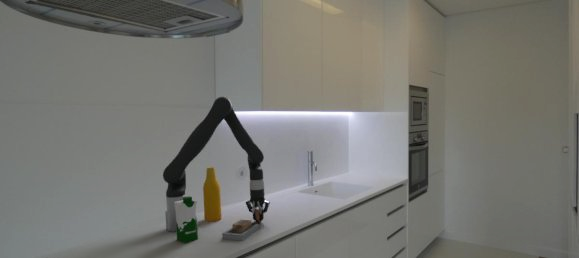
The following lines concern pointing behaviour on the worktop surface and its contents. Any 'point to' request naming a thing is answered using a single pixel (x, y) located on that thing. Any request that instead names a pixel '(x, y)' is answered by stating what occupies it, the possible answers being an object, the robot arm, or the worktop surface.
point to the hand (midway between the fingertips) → (258, 220)
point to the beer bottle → (211, 197)
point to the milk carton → (186, 219)
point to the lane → (232, 236)
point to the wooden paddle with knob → (245, 224)
